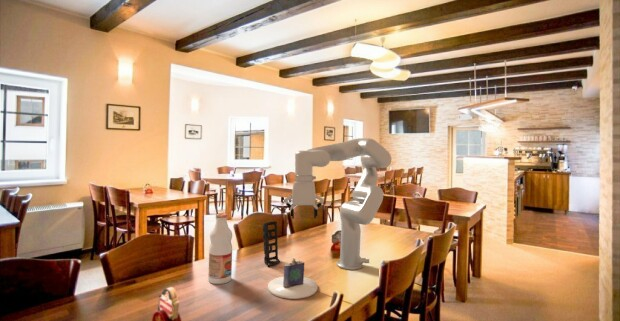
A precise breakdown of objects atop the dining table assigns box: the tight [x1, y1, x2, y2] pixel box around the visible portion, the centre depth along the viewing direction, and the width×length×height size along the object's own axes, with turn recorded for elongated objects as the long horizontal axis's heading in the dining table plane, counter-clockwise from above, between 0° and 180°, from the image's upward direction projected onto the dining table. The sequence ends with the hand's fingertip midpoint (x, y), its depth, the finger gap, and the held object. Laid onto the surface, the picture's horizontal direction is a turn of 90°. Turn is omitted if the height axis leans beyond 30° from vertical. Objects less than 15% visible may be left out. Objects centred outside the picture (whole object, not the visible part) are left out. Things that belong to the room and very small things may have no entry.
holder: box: [262, 221, 281, 268], centre depth 160 cm, size 11×8×20 cm
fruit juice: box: [208, 212, 233, 285], centre depth 138 cm, size 9×9×28 cm
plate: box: [267, 275, 318, 300], centre depth 133 cm, size 20×20×1 cm
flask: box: [283, 258, 305, 288], centre depth 133 cm, size 9×3×11 cm, turn 123°
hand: (303, 217), depth 143 cm, fingers open, 9 cm apart
